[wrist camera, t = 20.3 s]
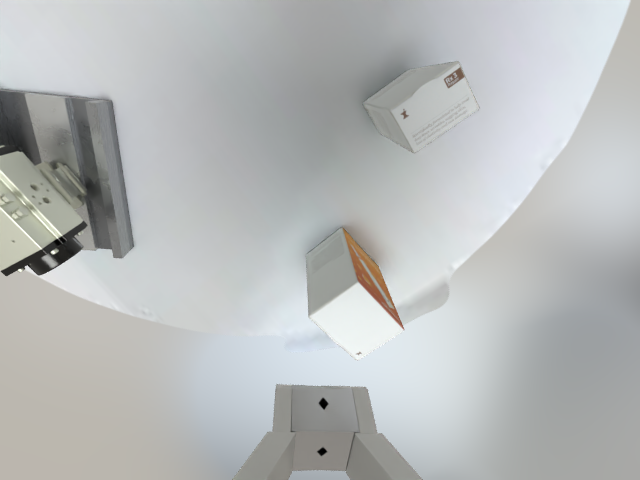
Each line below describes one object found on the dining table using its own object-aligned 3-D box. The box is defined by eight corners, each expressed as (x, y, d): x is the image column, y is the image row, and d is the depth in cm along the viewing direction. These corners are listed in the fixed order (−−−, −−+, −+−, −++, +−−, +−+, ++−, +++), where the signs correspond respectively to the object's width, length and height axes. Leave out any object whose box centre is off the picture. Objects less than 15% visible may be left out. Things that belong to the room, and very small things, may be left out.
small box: (379, 265, 46) (406, 331, 34) (342, 291, 47) (356, 363, 35) (342, 224, 43) (358, 281, 31) (304, 253, 44) (306, 318, 32)
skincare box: (380, 135, 38) (413, 160, 27) (359, 100, 36) (385, 112, 25) (429, 101, 37) (484, 113, 26) (409, 63, 35) (459, 58, 24)
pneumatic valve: (88, 235, 40) (9, 296, 29) (5, 144, 35) (-127, 176, 24) (126, 215, 39) (60, 270, 28) (46, 119, 34) (-71, 140, 23)
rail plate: (-4, 88, 34) (-30, 89, 31) (111, 100, 35) (96, 103, 32) (39, 240, 41) (21, 252, 38) (133, 246, 42) (122, 258, 40)
